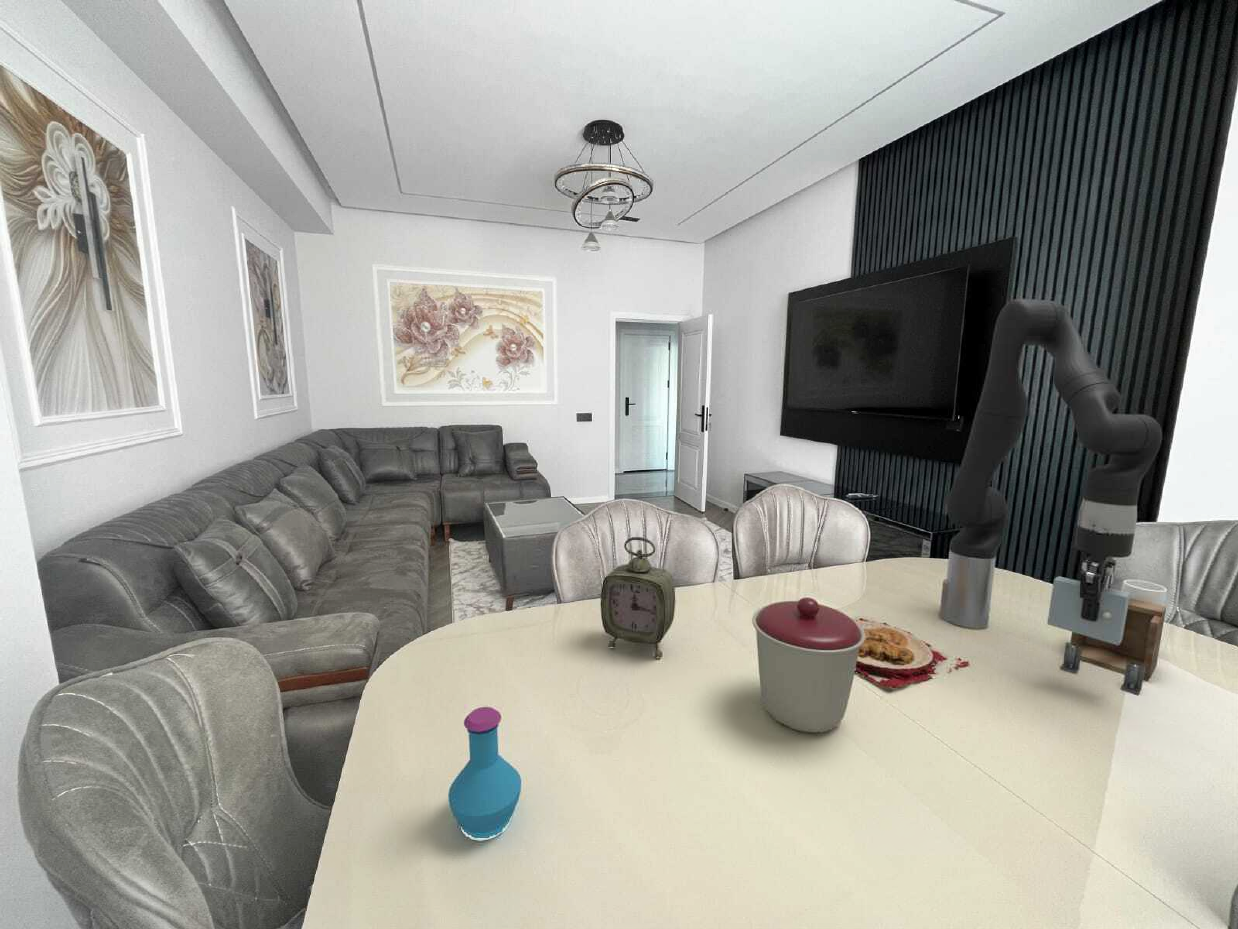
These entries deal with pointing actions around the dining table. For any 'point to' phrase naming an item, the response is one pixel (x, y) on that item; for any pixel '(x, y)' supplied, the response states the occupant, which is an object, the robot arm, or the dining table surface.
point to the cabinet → (1128, 640)
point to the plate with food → (895, 656)
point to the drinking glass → (1145, 591)
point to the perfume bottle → (484, 780)
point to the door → (1069, 610)
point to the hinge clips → (1132, 672)
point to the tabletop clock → (638, 601)
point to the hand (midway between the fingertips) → (1091, 616)
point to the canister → (806, 662)
